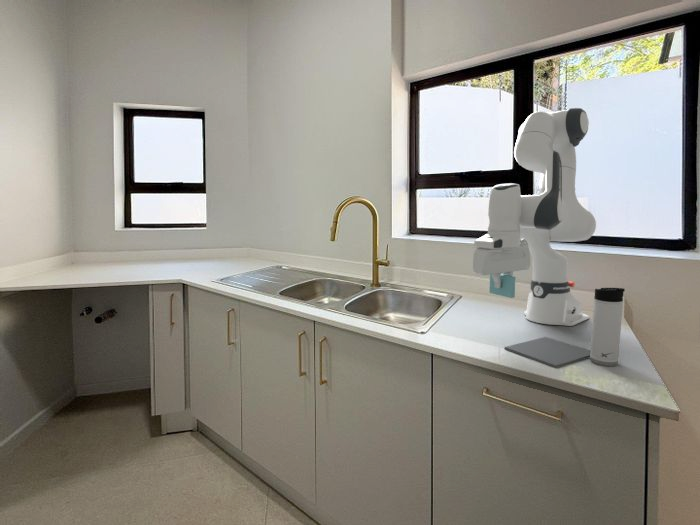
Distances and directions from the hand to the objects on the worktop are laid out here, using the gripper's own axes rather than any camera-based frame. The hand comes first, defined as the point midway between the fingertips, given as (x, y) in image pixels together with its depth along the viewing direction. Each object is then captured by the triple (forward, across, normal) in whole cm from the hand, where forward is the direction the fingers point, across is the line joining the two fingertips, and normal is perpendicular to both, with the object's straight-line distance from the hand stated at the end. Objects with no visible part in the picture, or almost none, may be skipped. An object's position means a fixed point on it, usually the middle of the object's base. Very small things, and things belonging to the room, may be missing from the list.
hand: (501, 287), depth 121 cm
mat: (+17, -6, +13) cm, 22 cm away
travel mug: (+17, -11, +25) cm, 32 cm away
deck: (+2, 0, 0) cm, 2 cm away
